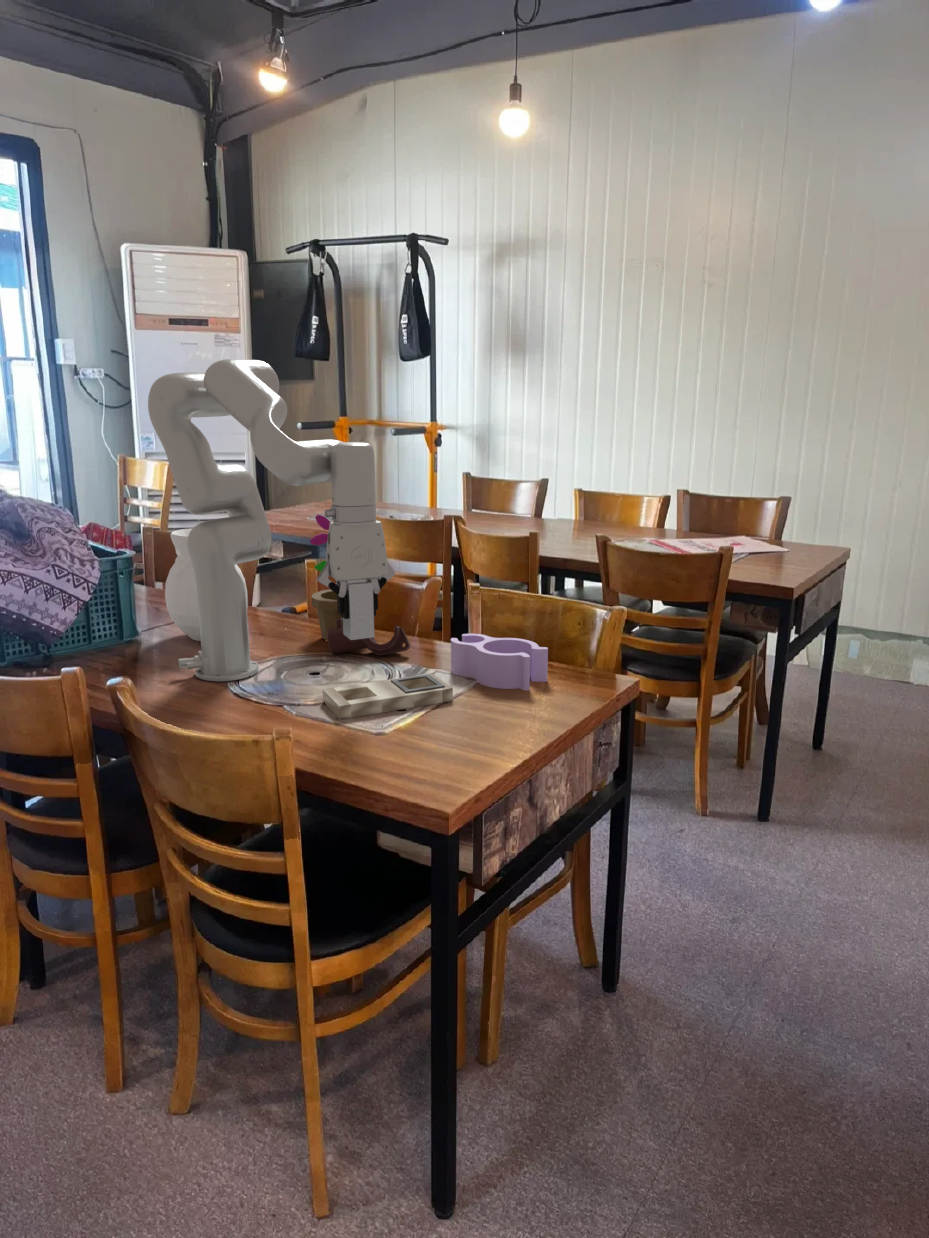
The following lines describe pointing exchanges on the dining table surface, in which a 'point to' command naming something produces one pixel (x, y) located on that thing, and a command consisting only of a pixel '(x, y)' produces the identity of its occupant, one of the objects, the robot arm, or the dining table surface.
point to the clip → (499, 661)
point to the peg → (359, 610)
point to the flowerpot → (325, 598)
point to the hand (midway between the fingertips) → (358, 614)
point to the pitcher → (185, 588)
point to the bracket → (366, 642)
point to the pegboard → (387, 695)
